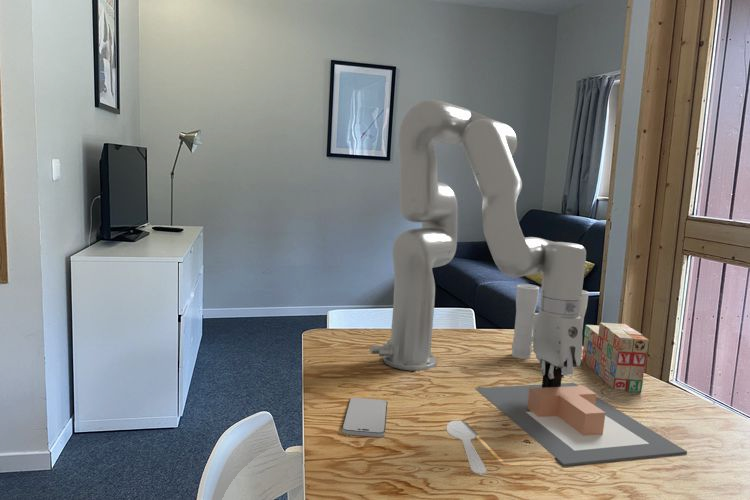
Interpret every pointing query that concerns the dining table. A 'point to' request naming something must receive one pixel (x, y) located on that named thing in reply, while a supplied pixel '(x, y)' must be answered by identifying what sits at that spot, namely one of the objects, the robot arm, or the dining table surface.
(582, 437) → the mat
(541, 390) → the t block
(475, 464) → the spoon
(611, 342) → the stack of blocks
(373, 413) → the smartphone
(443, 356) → the dining table surface
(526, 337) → the binoculars
